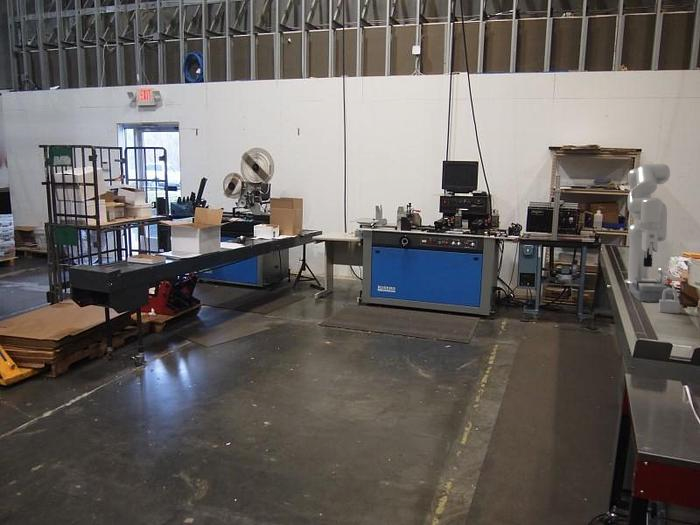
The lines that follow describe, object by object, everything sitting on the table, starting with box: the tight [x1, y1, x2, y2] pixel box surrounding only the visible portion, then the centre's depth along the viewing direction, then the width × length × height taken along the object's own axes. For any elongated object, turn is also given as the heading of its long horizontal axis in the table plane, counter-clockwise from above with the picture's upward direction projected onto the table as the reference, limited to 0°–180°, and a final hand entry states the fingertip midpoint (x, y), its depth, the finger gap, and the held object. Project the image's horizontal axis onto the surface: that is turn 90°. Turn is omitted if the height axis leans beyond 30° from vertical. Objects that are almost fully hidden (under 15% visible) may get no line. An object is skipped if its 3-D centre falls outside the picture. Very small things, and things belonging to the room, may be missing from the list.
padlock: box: [658, 287, 681, 314], centre depth 222 cm, size 7×4×10 cm, turn 64°
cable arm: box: [657, 267, 678, 285], centre depth 253 cm, size 27×3×10 cm, turn 161°
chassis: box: [628, 278, 673, 303], centre depth 252 cm, size 26×13×7 cm, turn 162°
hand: (647, 266), depth 245 cm, fingers closed
